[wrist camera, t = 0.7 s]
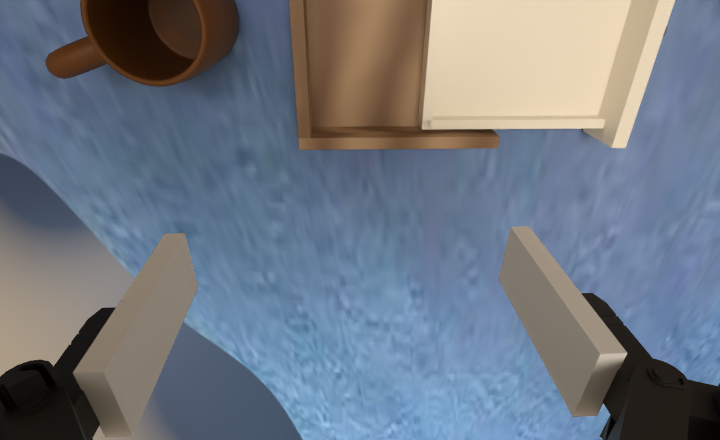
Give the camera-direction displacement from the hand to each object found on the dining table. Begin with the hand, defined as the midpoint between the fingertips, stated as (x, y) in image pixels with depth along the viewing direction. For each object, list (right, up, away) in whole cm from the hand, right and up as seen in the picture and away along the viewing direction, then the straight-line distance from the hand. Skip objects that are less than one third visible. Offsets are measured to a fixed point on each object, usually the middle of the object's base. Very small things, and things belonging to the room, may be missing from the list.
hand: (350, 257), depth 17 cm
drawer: (+15, +17, +17) cm, 28 cm away
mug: (-15, +17, +16) cm, 28 cm away
